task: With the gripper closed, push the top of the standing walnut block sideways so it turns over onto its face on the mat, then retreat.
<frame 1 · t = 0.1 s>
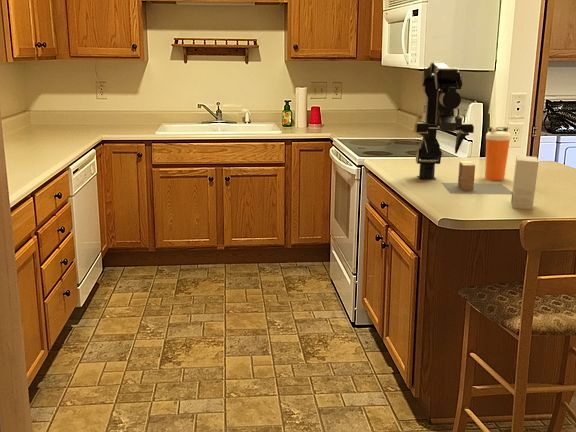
hand: (442, 153, 217), 14 cm above the worktop, fingers open, 9 cm apart
shaker bottle: (494, 180, 248), on the worktop
skincare box: (522, 206, 206), on the worktop
block: (465, 188, 230), resting on mat
mat: (476, 189, 230), on the worktop
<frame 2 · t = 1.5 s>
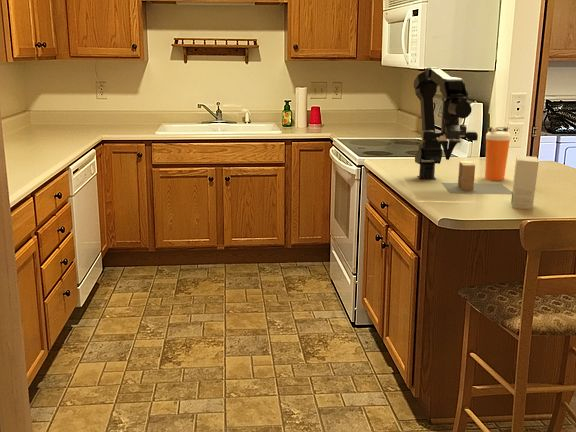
hand: (447, 159, 228), 11 cm above the worktop, fingers closed
nothing on the worktop moved.
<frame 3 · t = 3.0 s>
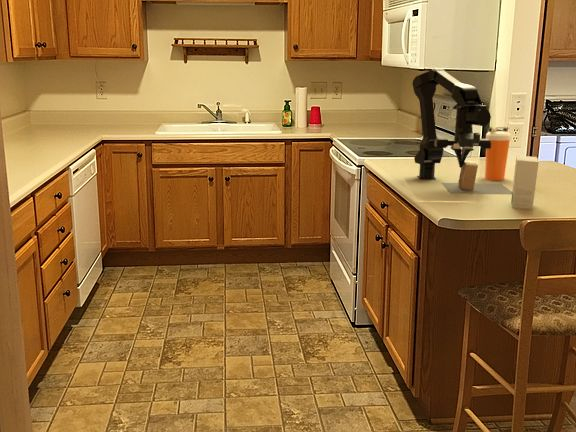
hand: (460, 167, 228), 8 cm above the worktop, fingers closed
block: (465, 187, 230), point 1 cm above the worktop, tilted 6°, touching gripper, mat
everything else where it was.
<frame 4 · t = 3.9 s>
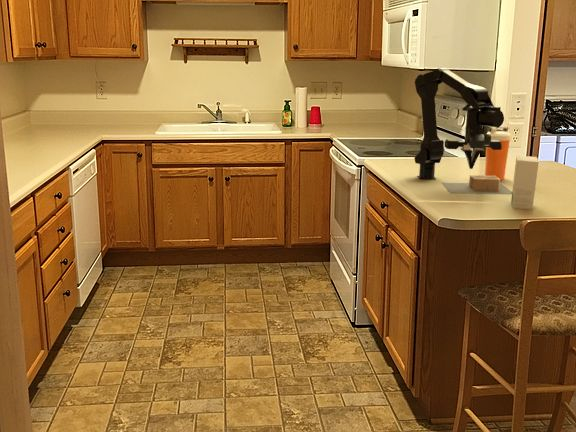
hand: (470, 168, 228), 8 cm above the worktop, fingers closed
block: (471, 182, 229), point 2 cm above the worktop, tilted 90°, touching mat
everything else where it was.
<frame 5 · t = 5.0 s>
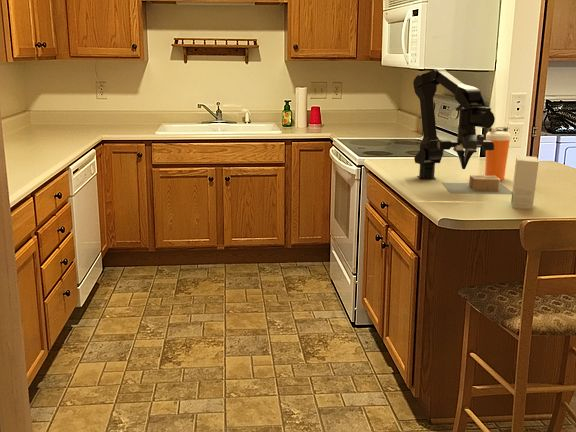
hand: (463, 169, 228), 7 cm above the worktop, fingers closed
nothing on the worktop moved.
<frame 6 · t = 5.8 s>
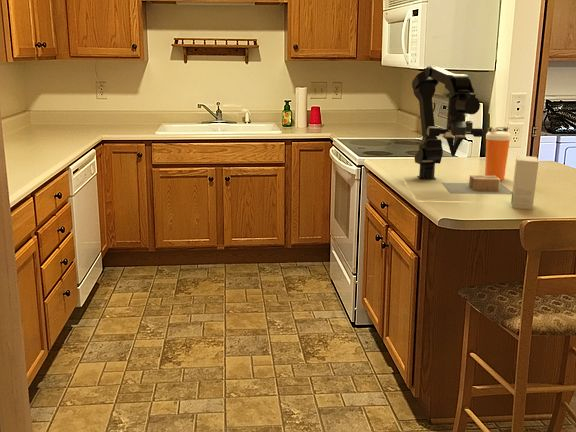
hand: (452, 156, 228), 12 cm above the worktop, fingers closed
nothing on the worktop moved.
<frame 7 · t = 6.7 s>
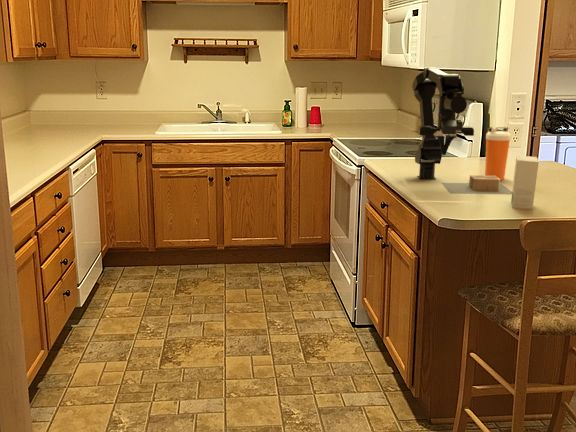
hand: (443, 154, 229), 12 cm above the worktop, fingers closed
nothing on the worktop moved.
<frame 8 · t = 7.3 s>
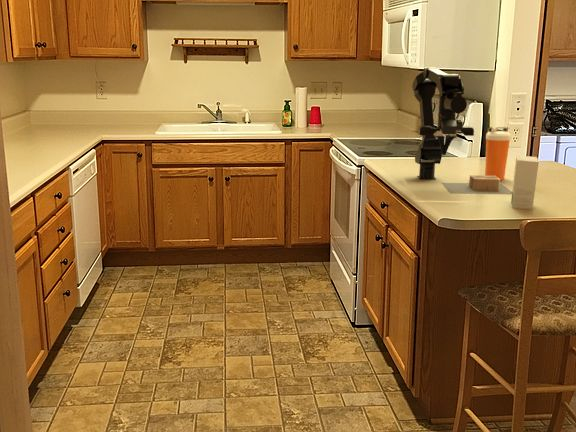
hand: (443, 154, 229), 12 cm above the worktop, fingers closed
nothing on the worktop moved.
at the end: block tilted 90°; block inside the target area (3.0 cm from its centre), point 2.5 cm above the worktop; block touching mat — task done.
